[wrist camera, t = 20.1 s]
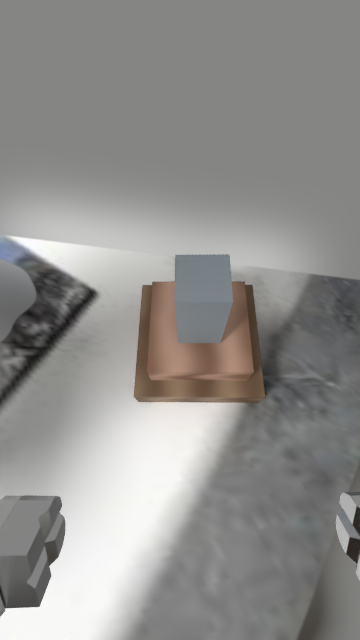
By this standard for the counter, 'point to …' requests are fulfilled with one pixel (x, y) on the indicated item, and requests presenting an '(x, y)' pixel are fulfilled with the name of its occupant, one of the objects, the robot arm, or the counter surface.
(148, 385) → the plinth
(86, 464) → the counter surface
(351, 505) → the robot arm
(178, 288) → the slate brick
